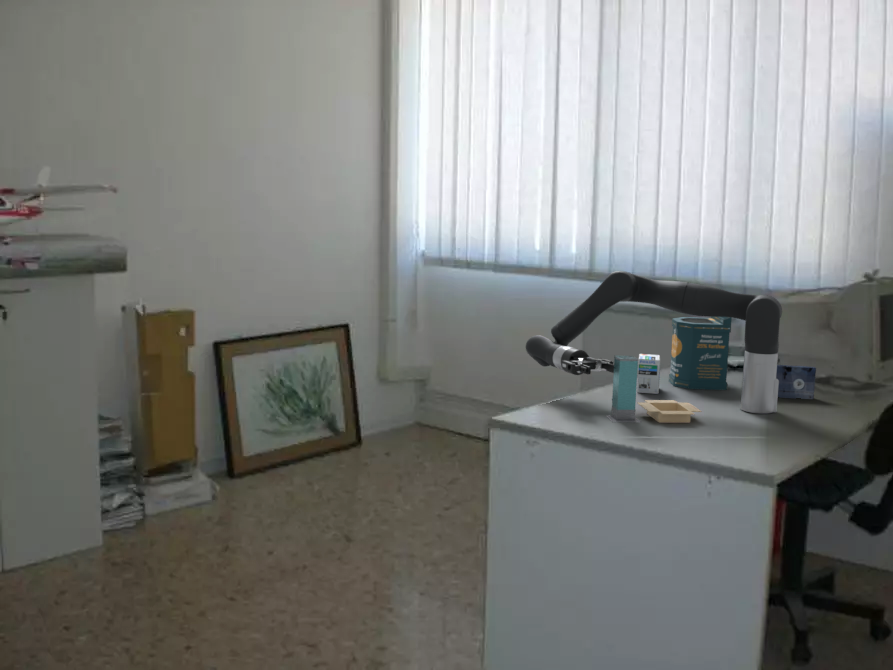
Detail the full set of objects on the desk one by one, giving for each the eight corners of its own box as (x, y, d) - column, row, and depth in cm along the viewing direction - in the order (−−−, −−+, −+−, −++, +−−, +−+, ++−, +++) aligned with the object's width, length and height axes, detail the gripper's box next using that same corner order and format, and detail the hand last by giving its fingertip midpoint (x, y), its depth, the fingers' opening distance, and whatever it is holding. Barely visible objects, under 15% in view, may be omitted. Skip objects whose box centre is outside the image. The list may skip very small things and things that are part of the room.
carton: (684, 412, 292) (684, 400, 292) (704, 426, 276) (705, 413, 275) (633, 412, 291) (634, 400, 290) (650, 426, 274) (651, 413, 274)
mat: (633, 416, 285) (633, 415, 285) (641, 423, 277) (641, 422, 277) (605, 416, 284) (605, 415, 284) (612, 423, 276) (612, 421, 276)
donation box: (726, 390, 326) (732, 302, 322) (676, 388, 326) (681, 301, 322) (714, 380, 342) (720, 296, 337) (665, 378, 342) (670, 295, 338)
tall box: (629, 416, 284) (632, 355, 281) (634, 420, 279) (638, 358, 276) (611, 416, 283) (614, 355, 280) (616, 420, 278) (619, 358, 275)
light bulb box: (658, 394, 316) (660, 360, 315) (636, 393, 318) (638, 358, 316) (658, 387, 327) (660, 354, 325) (637, 386, 328) (639, 353, 326)
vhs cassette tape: (812, 398, 317) (815, 366, 316) (814, 400, 314) (816, 368, 313) (751, 394, 320) (753, 363, 319) (752, 396, 317) (754, 364, 316)
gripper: (550, 348, 299) (581, 358, 285) (591, 346, 305) (624, 355, 291) (549, 373, 300) (580, 384, 286) (590, 371, 306) (622, 381, 292)
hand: (602, 370), depth 288 cm, fingers open, 8 cm apart
